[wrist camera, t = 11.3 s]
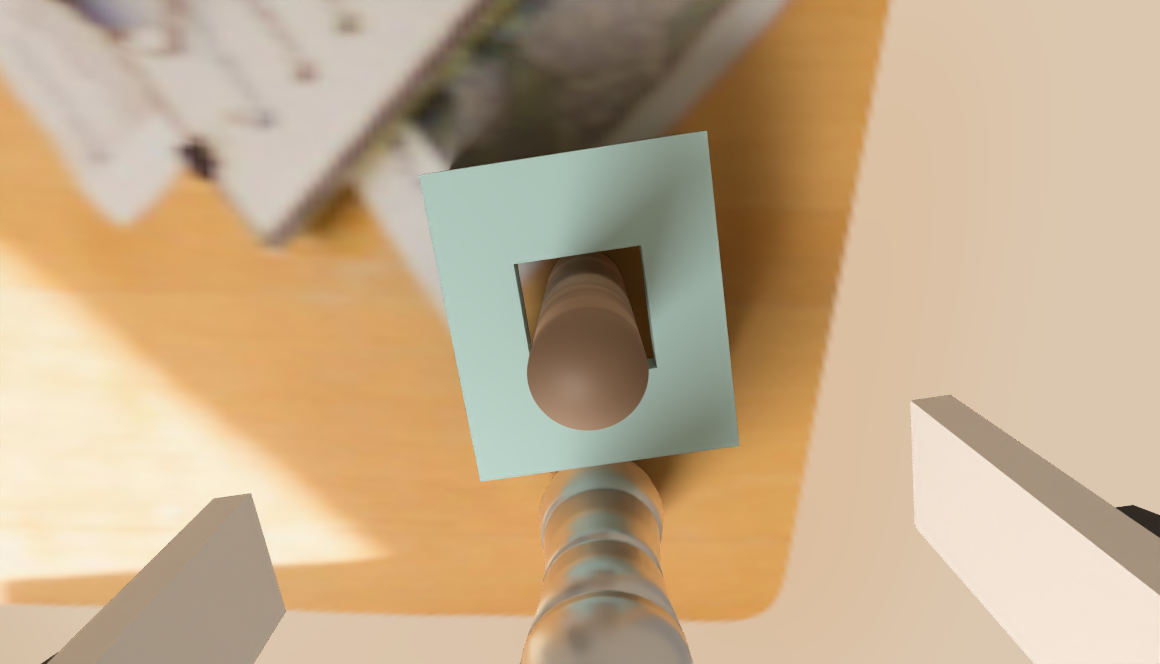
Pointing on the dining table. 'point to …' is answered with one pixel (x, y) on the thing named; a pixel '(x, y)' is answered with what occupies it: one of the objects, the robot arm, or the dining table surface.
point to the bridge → (571, 227)
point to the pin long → (587, 346)
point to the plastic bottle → (603, 573)
